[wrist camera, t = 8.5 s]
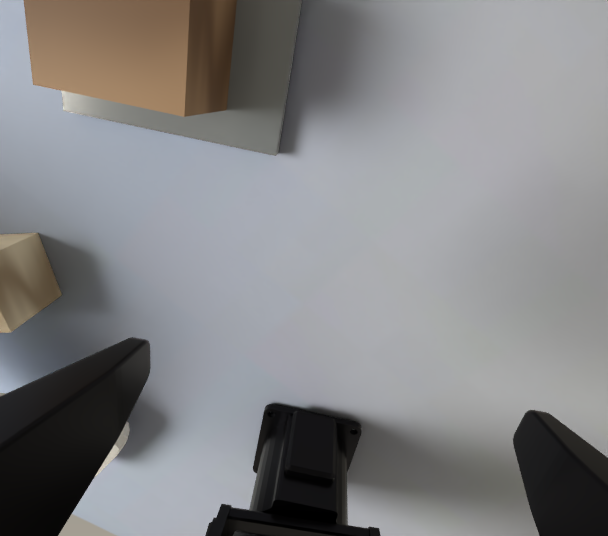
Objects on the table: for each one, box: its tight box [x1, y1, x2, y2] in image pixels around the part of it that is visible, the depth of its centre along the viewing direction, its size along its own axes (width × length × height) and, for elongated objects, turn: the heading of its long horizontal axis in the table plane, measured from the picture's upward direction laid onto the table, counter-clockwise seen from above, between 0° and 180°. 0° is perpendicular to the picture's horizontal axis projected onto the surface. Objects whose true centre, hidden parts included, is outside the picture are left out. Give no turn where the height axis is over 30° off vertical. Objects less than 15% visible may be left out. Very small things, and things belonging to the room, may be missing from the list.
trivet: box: [62, 0, 302, 156], centre depth 16 cm, size 8×10×1 cm
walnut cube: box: [24, 0, 237, 117], centre depth 13 cm, size 5×5×5 cm
